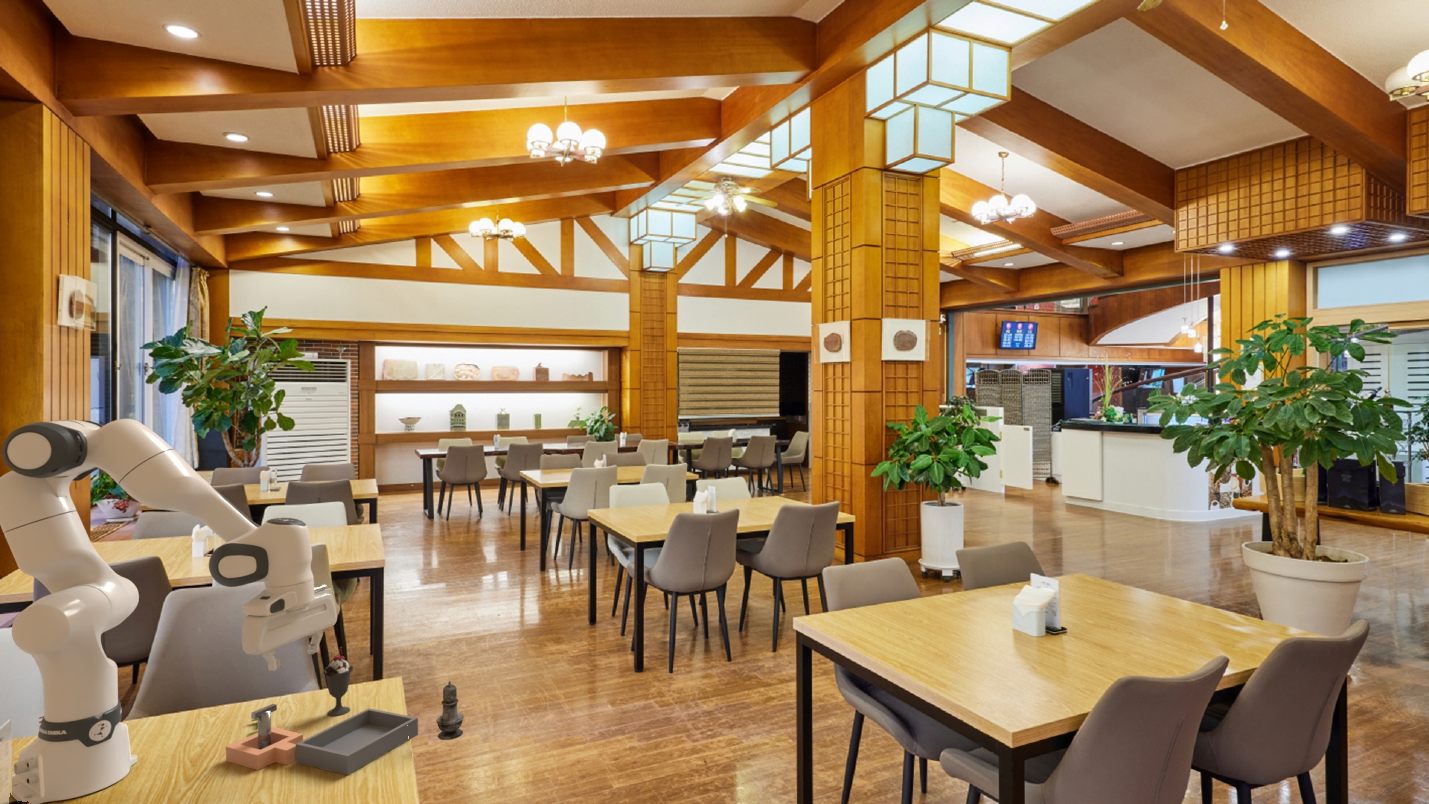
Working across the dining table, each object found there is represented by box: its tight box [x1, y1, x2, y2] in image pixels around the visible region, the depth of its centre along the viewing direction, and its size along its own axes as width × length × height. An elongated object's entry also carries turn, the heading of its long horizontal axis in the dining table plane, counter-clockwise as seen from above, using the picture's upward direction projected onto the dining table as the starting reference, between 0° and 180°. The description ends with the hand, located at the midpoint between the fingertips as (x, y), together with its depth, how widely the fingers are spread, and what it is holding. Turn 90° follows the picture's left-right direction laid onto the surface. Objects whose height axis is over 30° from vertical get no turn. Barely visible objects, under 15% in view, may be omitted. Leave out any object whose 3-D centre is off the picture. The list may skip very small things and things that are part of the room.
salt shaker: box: [435, 680, 465, 741], centre depth 163 cm, size 6×6×12 cm
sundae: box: [322, 646, 354, 717], centre depth 176 cm, size 7×7×15 cm
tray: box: [295, 707, 419, 776], centre depth 157 cm, size 15×19×4 cm
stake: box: [250, 703, 278, 750], centre depth 155 cm, size 2×5×10 cm, turn 158°
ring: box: [225, 726, 304, 771], centre depth 154 cm, size 14×10×3 cm
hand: (294, 660), depth 153 cm, fingers open, 8 cm apart
